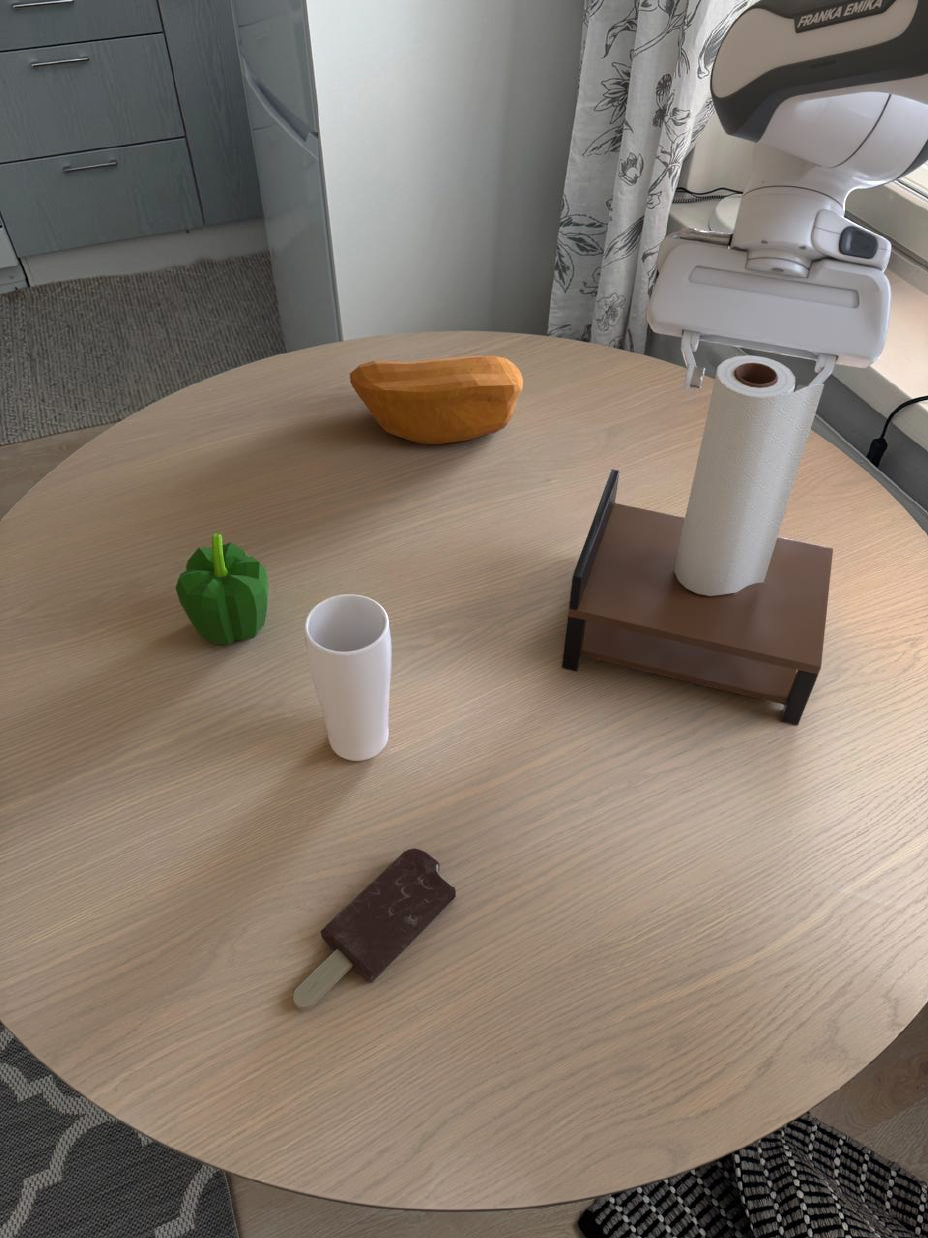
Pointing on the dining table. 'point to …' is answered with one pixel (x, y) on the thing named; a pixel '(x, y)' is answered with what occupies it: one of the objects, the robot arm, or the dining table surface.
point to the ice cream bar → (379, 923)
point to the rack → (696, 611)
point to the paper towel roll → (743, 474)
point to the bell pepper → (224, 592)
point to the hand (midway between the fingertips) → (745, 398)
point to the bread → (440, 396)
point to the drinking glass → (351, 672)
